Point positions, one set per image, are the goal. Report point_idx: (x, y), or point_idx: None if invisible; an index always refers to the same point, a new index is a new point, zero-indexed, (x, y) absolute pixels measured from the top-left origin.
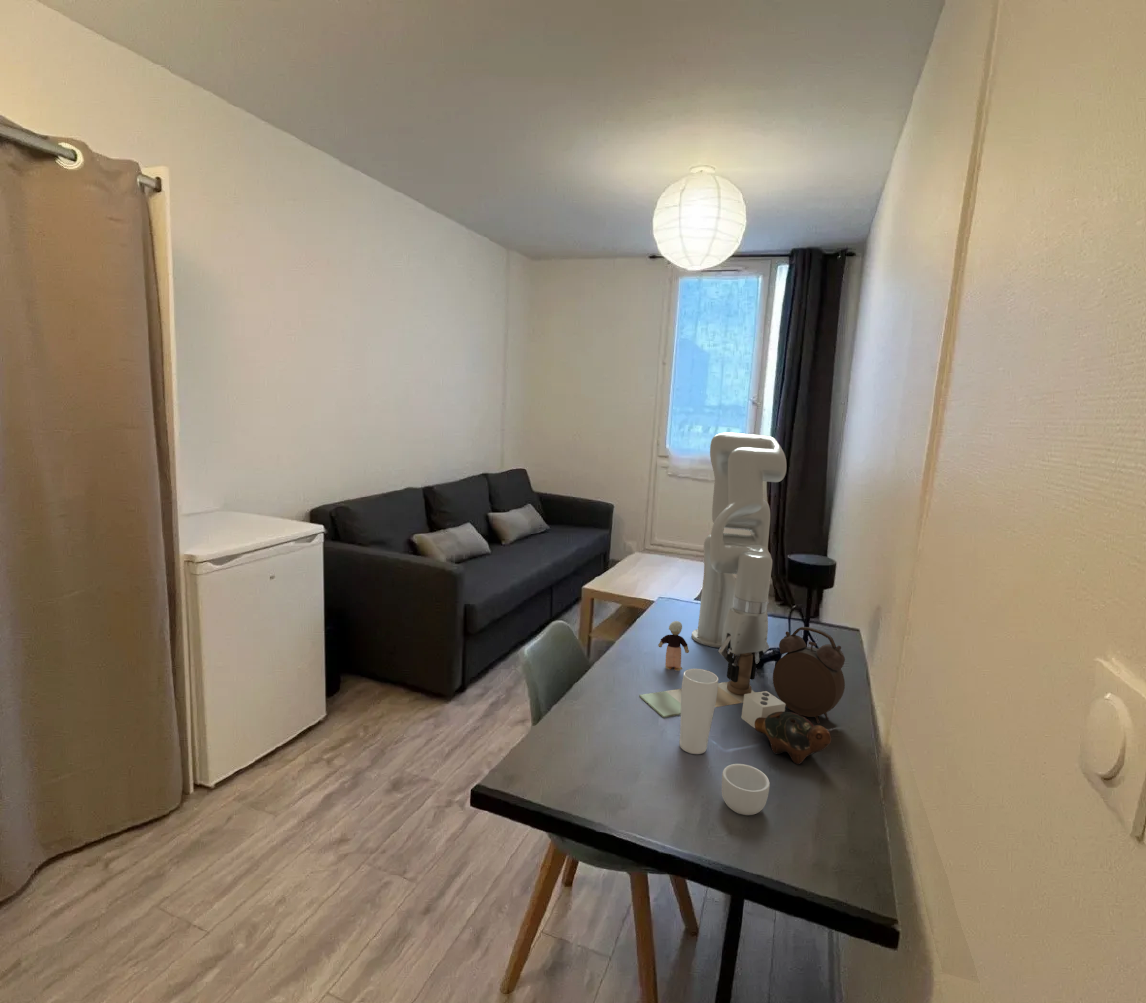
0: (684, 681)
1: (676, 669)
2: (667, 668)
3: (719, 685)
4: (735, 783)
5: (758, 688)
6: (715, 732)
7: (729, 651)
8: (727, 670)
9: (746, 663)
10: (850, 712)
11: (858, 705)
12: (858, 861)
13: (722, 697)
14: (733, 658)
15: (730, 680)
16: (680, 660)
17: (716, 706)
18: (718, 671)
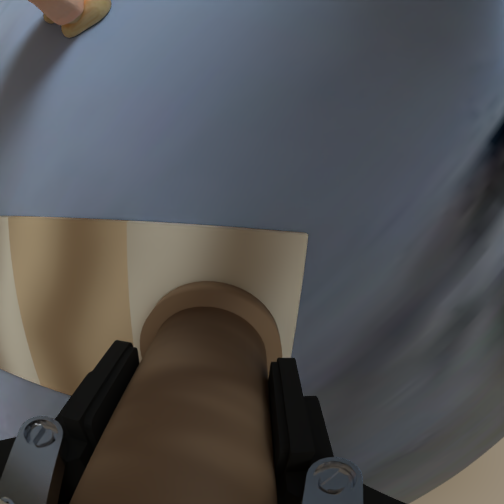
0: None
1: (61, 27)
2: (44, 15)
3: (142, 253)
4: None
5: (355, 335)
6: (17, 434)
7: (2, 498)
8: (76, 389)
9: None
10: (432, 478)
11: (479, 452)
12: None
13: (87, 354)
14: (87, 466)
15: (155, 336)
16: (49, 5)
17: (41, 383)
18: (303, 71)
